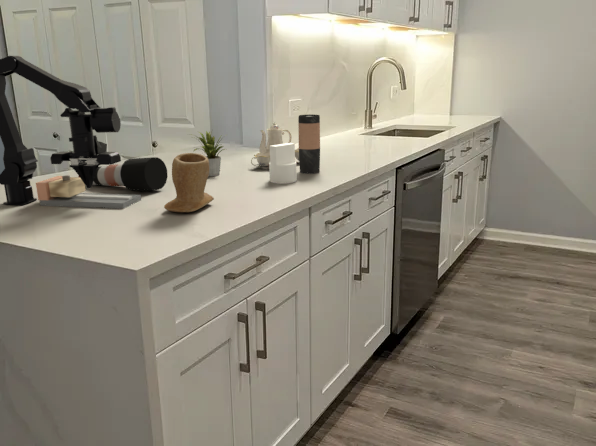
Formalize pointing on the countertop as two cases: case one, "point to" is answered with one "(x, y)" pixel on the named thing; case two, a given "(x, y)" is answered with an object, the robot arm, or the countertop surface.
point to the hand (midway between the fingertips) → (89, 188)
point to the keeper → (66, 186)
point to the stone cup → (189, 183)
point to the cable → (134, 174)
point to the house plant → (211, 153)
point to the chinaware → (273, 139)
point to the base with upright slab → (282, 163)
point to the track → (83, 198)
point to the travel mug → (309, 143)
